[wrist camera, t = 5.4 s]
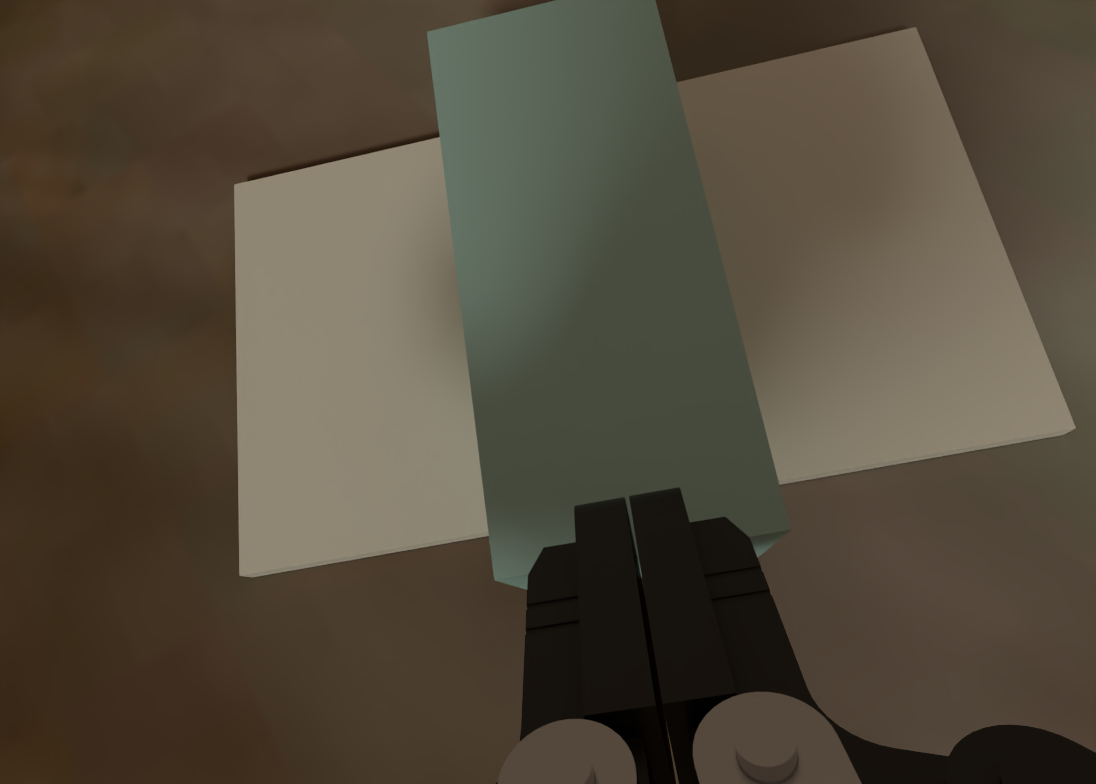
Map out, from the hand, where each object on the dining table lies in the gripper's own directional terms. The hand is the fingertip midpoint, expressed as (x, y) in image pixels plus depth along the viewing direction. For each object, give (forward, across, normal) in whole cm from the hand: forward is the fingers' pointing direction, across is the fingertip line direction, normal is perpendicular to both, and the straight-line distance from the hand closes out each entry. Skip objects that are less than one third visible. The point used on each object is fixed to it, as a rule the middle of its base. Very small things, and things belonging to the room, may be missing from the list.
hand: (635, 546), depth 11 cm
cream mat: (+11, 0, 0) cm, 11 cm away
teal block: (+3, 0, +3) cm, 4 cm away
